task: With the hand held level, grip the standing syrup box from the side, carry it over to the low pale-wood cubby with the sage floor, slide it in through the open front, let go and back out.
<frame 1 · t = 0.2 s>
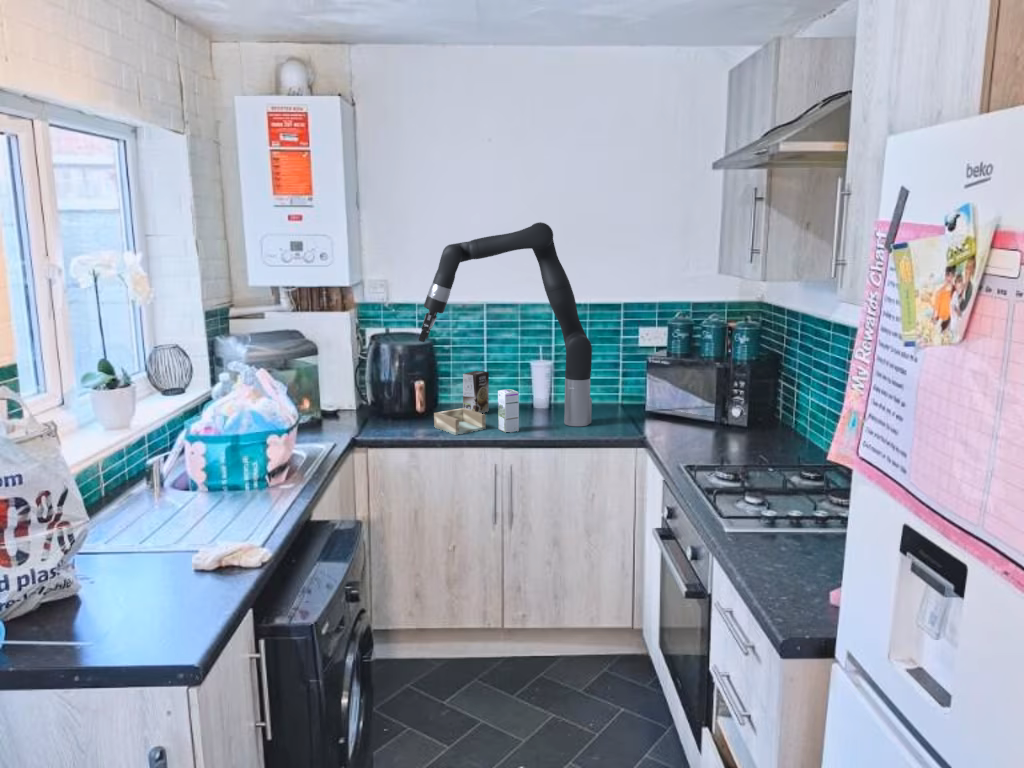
hand: (422, 339, 277), 31 cm above the worktop, tool tilted 20°, fingers open, 8 cm apart
cubby: (459, 428, 275), on the worktop
coffee box: (476, 413, 299), on the worktop
syrup box: (508, 431, 273), on the worktop
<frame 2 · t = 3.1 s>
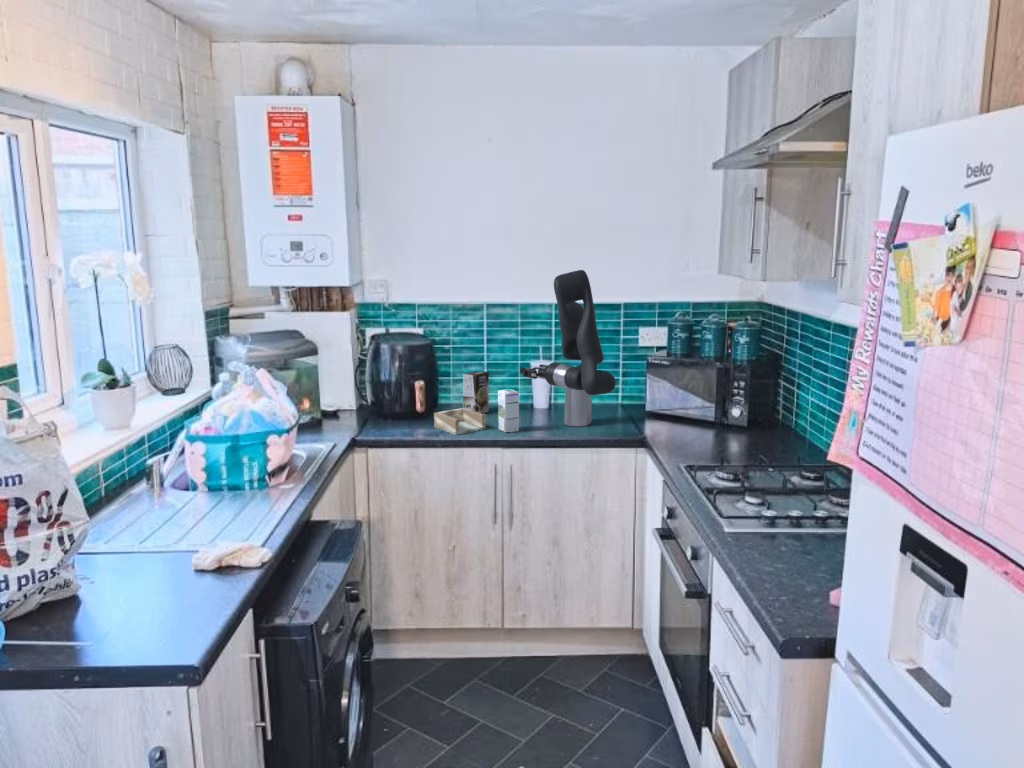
hand: (530, 368, 259), 24 cm above the worktop, tool horizontal, fingers open, 8 cm apart
nothing on the worktop moved.
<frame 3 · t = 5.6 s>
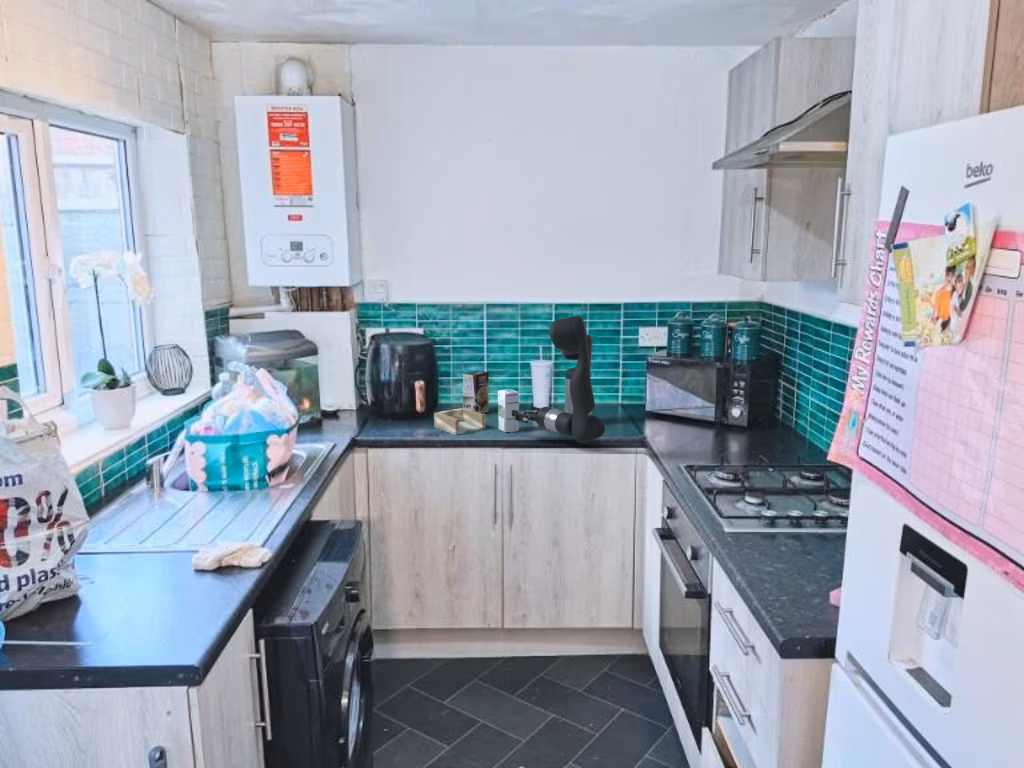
hand: (522, 411, 265), 9 cm above the worktop, tool horizontal, fingers open, 8 cm apart
nothing on the worktop moved.
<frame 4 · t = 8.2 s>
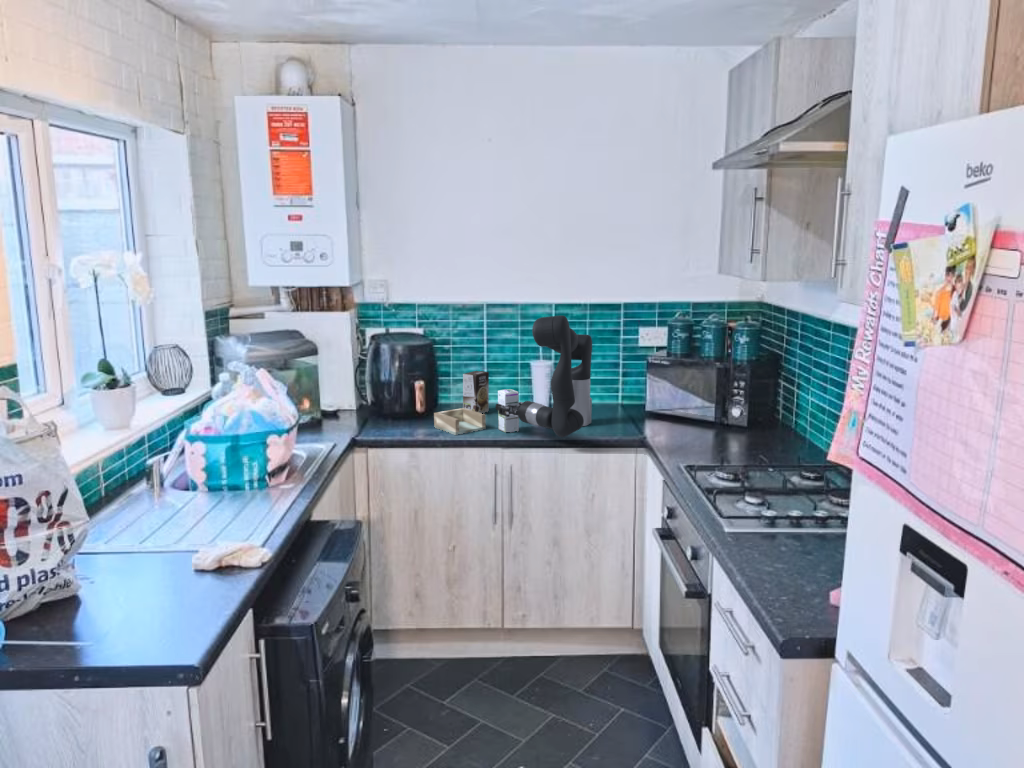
hand: (504, 405, 273), 9 cm above the worktop, tool horizontal, fingers closed on syrup box, 6 cm apart
syrup box: (508, 431, 273), on the worktop, touching gripper
everything else where it was.
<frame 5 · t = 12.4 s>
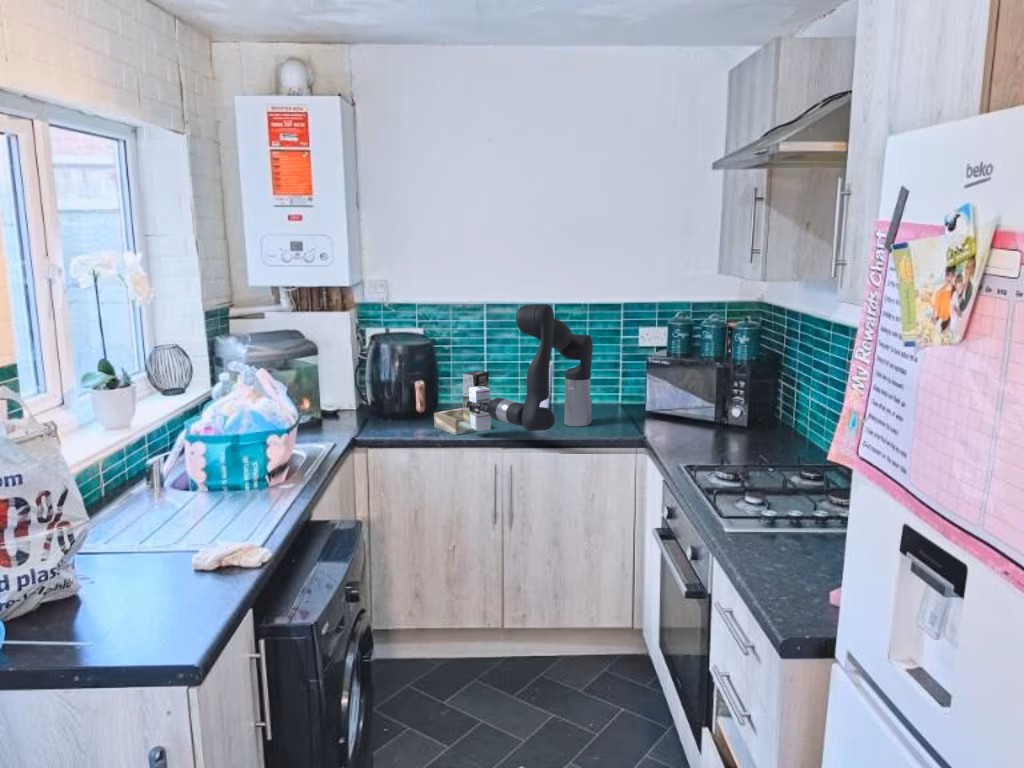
hand: (475, 402, 265), 11 cm above the worktop, tool horizontal, fingers closed on syrup box, 6 cm apart
syrup box: (480, 429, 265), point 2 cm above the worktop, touching gripper
everything else where it was.
when the fingers open (11 cm above the worktop, at t = 16.7 s): syrup box drops 1 cm, resting on cubby.
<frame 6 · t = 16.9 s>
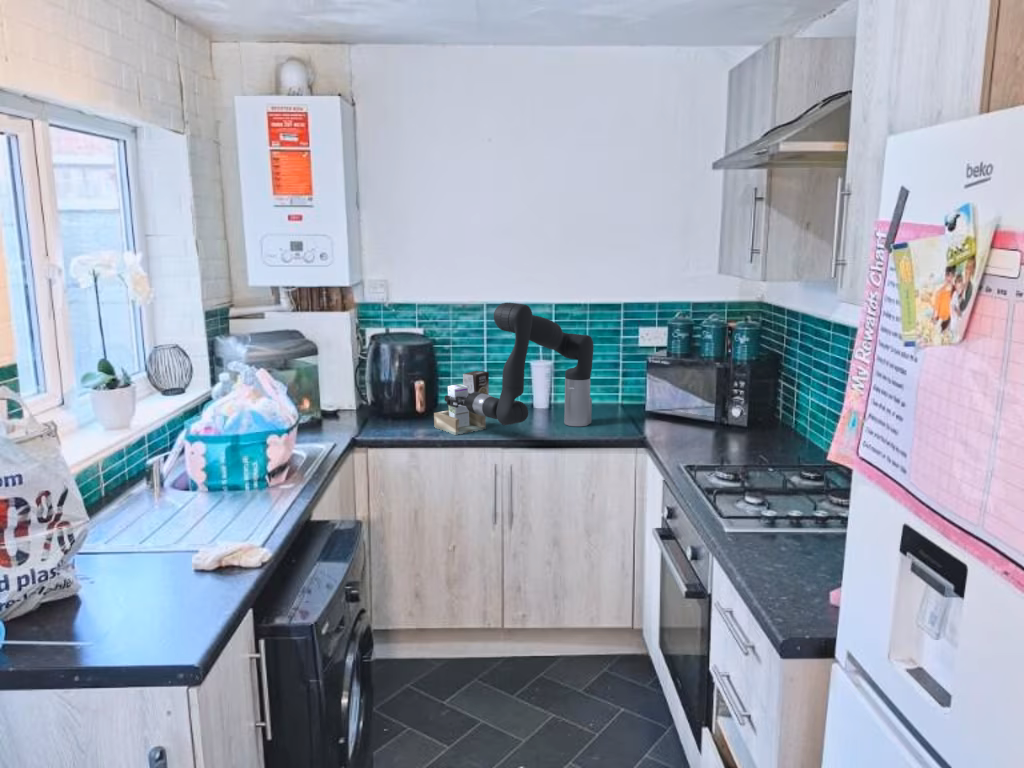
hand: (455, 396, 275), 11 cm above the worktop, tool horizontal, fingers open, 8 cm apart
syrup box: (459, 425, 275), point 1 cm above the worktop, touching cubby
everything else where it was.
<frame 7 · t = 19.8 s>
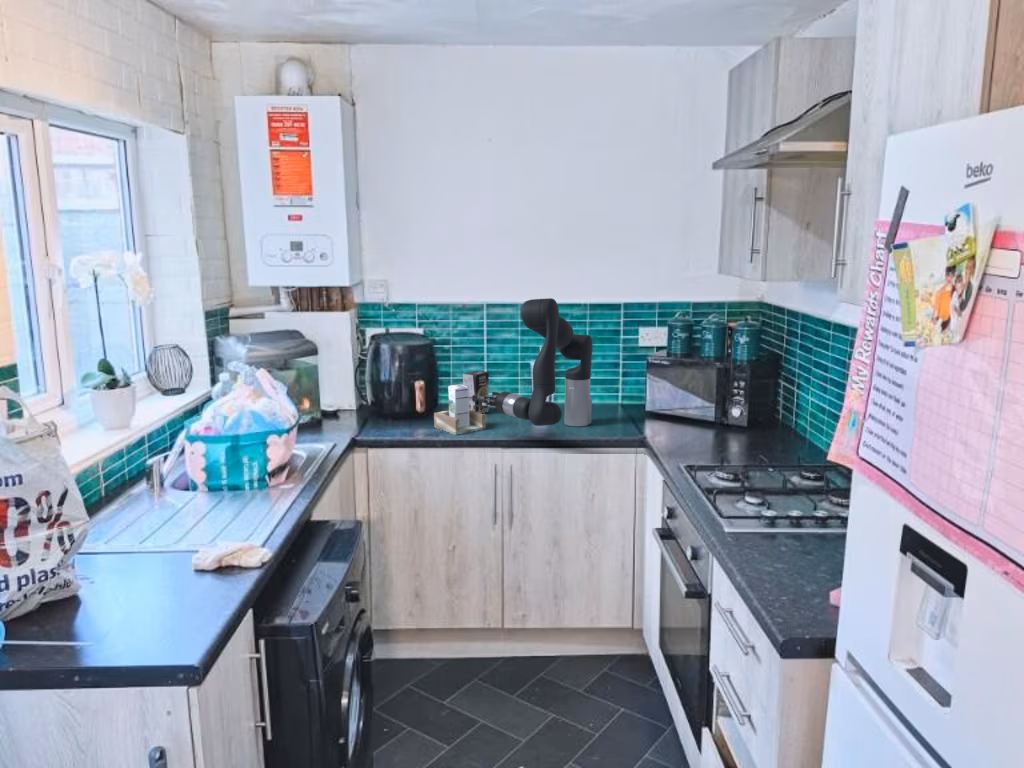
hand: (483, 396, 264), 14 cm above the worktop, tool horizontal, fingers open, 8 cm apart
nothing on the worktop moved.
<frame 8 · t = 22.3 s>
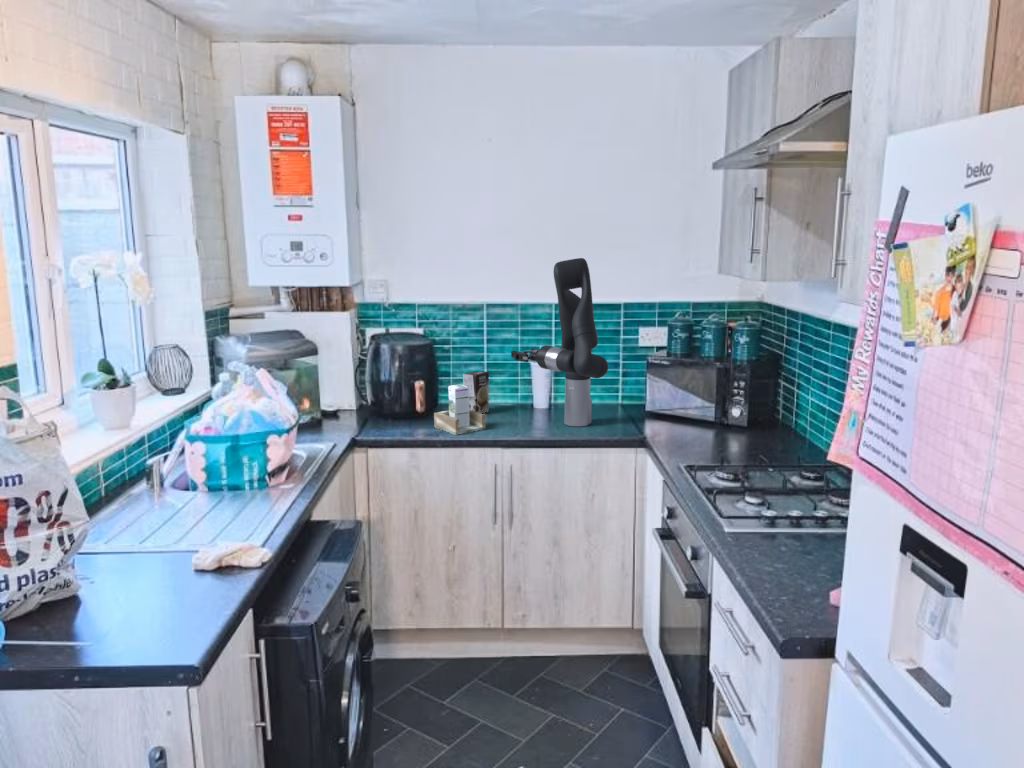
hand: (521, 352, 255), 30 cm above the worktop, tool horizontal, fingers open, 8 cm apart
nothing on the worktop moved.
at the end: syrup box inside the target area on the cubby (0.4 cm from its centre), point 0.8 cm above the cubby's base; syrup box tilted 0°; the gripper is holding nothing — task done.
